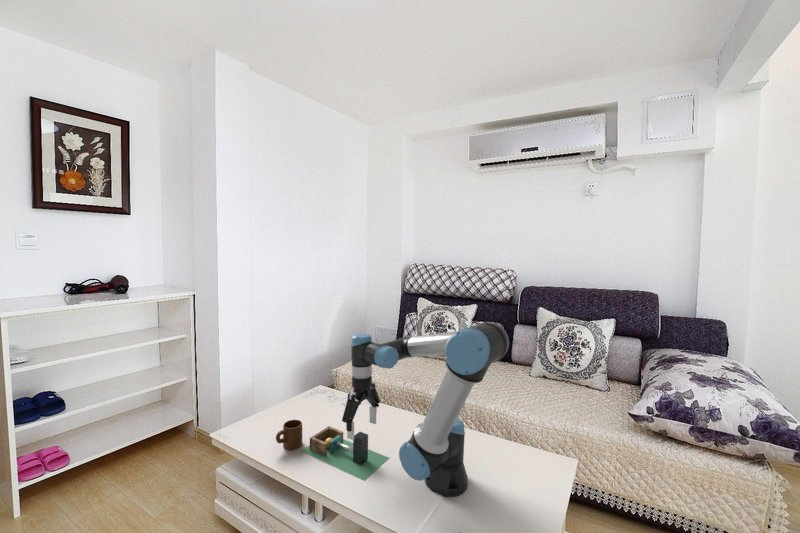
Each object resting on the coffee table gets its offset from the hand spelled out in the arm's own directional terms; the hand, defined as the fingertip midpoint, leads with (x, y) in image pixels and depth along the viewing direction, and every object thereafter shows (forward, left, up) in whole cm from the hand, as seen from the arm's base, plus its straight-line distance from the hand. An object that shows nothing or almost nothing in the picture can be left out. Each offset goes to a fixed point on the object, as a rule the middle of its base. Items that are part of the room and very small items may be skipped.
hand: (362, 430), depth 136 cm
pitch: (+9, 0, -13) cm, 16 cm away
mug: (+31, +9, -13) cm, 35 cm away
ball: (+17, 0, -11) cm, 20 cm away
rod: (+7, 0, -12) cm, 14 cm away
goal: (+18, 0, -13) cm, 22 cm away
